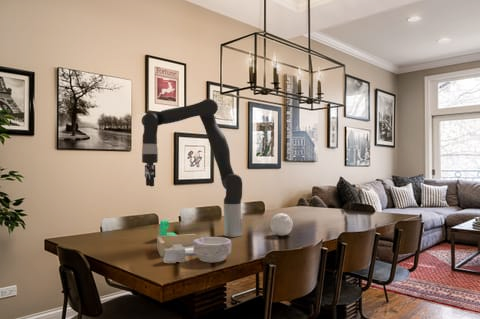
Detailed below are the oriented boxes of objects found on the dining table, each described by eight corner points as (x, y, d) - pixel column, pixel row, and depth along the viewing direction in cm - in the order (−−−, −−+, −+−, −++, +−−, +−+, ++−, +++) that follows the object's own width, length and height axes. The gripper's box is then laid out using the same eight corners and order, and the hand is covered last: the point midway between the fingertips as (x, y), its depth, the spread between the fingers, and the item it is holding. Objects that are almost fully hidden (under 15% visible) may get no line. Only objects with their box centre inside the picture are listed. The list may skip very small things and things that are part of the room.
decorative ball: (277, 238, 192) (277, 215, 193) (266, 234, 203) (266, 212, 204) (297, 236, 197) (296, 214, 198) (285, 232, 208) (285, 211, 209)
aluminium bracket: (161, 257, 153) (161, 245, 153) (181, 256, 156) (181, 244, 156) (164, 263, 144) (164, 250, 144) (185, 261, 146) (185, 249, 146)
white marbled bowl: (232, 264, 142) (232, 243, 143) (192, 265, 141) (192, 244, 141) (230, 254, 158) (230, 236, 158) (194, 255, 156) (194, 236, 156)
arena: (196, 246, 175) (196, 233, 175) (203, 253, 160) (203, 240, 160) (157, 248, 169) (157, 236, 169) (160, 257, 154) (160, 243, 154)
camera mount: (179, 241, 187) (179, 221, 187) (164, 242, 184) (164, 222, 184) (173, 237, 198) (173, 218, 198) (158, 238, 194) (158, 218, 195)
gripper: (160, 152, 179) (160, 186, 179) (154, 153, 192) (154, 185, 192) (144, 152, 176) (145, 187, 176) (139, 153, 189) (139, 185, 189)
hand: (149, 186), depth 184 cm, fingers open, 8 cm apart
